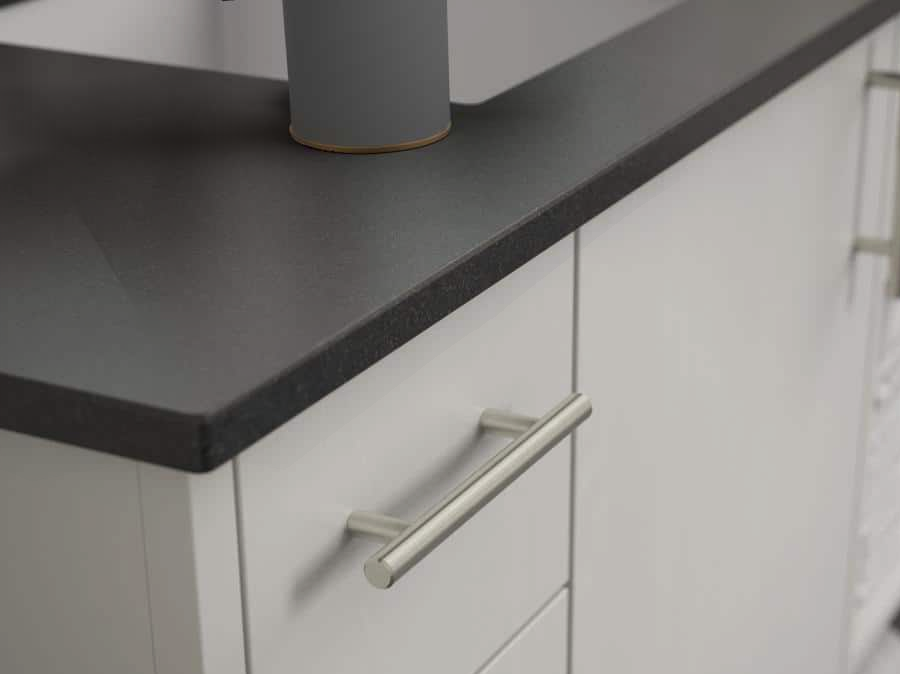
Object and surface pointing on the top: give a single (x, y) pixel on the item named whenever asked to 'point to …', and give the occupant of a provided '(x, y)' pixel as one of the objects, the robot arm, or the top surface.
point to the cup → (367, 70)
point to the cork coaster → (371, 148)
